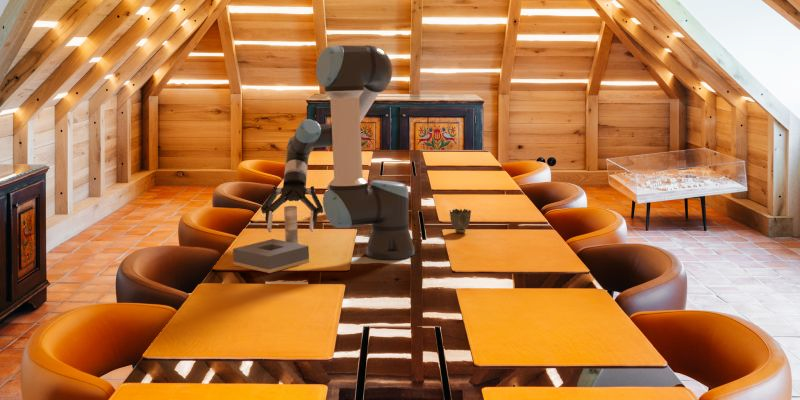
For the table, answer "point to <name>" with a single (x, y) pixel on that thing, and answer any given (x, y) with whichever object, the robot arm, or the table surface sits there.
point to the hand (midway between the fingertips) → (290, 230)
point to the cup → (460, 220)
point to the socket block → (271, 255)
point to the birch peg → (291, 224)
